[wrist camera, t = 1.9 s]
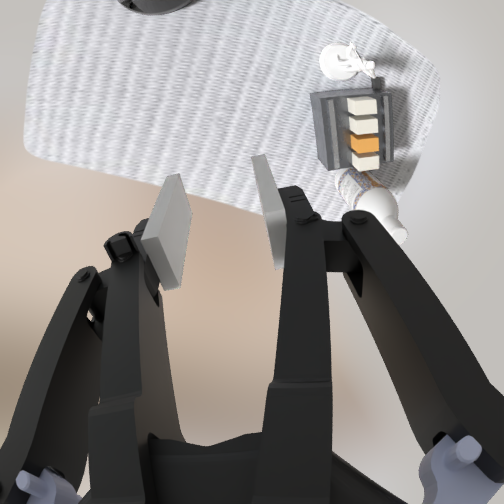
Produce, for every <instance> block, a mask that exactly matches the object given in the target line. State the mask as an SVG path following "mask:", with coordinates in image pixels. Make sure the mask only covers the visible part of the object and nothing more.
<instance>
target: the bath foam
mask: <svg viewBox="0 0 504 504" xmlns="http://www.w3.org/2000/svg"><path fill="white" fill-rule="evenodd" d="M335 187H336V189H337V191H338V192H339V193H340V195H341V196H342V198H343V199H344V200H345V202H346V203H347V205H348V206H349V207H350V209H351V210H365V211H368V212H371V213H372V214H373V215H374V216H375V217H376V218H377V219H378V220H379V222H380V223H381V224H382V225H383V226H384V228H385V229H386V230H387V231H388V232H389V234H390V235H391V236H392V237H393V239H394V240H395V241H396V242H397V244H398V245H400V244H402V243H403V242H405V240H406V239H407V236H408V232H407V230H406V228H405V227H403V225H402V224H401V222H400V221H399V220H398V205H397V202H396V200H395V198H394V196H393V195H392V193H391V192H390V191H389V190H388V189H387V188H386V187H385V186H384V185H383V184H382V183H381V182H380V181H379V180H378V179H377V178H376V177H375V176H374V175H373V174H371V173H370V172H369V171H368V170H366V171H360V172H359V171H358V170H357V169H356V168H355V167H349V168H343V169H339V170H338V172H337V173H336V176H335Z"/></svg>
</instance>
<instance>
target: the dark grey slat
mask: <svg viewBox="0 0 504 504" xmlns="http://www.w3.org/2000/svg"><path fill="white" fill-rule="evenodd" d="M371 81H372V88H374V89H381V81H380V78H379V77H376V78H375V79H374V78H372V77H371Z"/></svg>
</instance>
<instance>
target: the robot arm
mask: <svg viewBox="0 0 504 504" xmlns="http://www.w3.org/2000/svg"><path fill="white" fill-rule="evenodd" d="M192 1H193V0H118V2H119V3H120V4H121V5H123V6H124V7H125V8H127V9H129V10H131V11H133V12H136V13H139V14H143V15H162V14H167V13H171V12H174V11H176V10H178V9H181V8H183V7H184V6H186V5H188V4H189V3H190V2H192ZM251 159H252V164H253V168H254V173H255V178H256V183H257V188H258V193H259V198H260V203H261V207H262V211H263V216H264V220H265V225H266V230H267V234H268V238H269V243H270V248H271V252H272V256H273V262H274V266H275V270H277V269H282V268H284V272H283V283H282V295H281V307H280V318H279V319H280V320H279V329H278V339H277V350H276V359H275V369H274V377H273V381H272V382H271V383H270V384H269V387H268V391H267V397H266V405H265V413H264V421H263V428H262V432H259V433H251V434H244V435H242V436H239V437H236V438H233V439H230V440H227V441H224V442H221V443H218V444H215V445H212V446H200V445H195V444H190V443H186V441H185V439H184V437H183V435H182V433H181V430H180V425H179V420H178V414H177V409H176V403H175V396H174V390H173V384H172V377H171V370H170V363H169V356H168V348H167V340H166V331H165V322H164V313H163V302H162V296H161V294H160V291H159V290H158V287H159V283H161V285H162V287H163V289H164V291H166V290H172V289H178V288H180V287H181V280H182V274H183V267H184V261H185V254H186V248H187V242H188V236H189V230H190V224H191V219H192V211H191V208H190V205H189V202H188V199H187V196H186V193H185V189H184V186H183V183H182V180H181V177H180V174H179V173H178V174H174V175H170V176H167V177H166V180H165V182H164V184H163V186H162V189H161V191H160V194H159V196H158V198H157V200H156V203H155V205H154V208H153V210H152V213H151V215H150V217H149V218H147V219H144V220H141V221H140V223H139V224H138V225H137V226H136V227H135V230H134V233H133V234H132V233H131V232H129V231H124V232H120V233H117V234H115V235H114V236H112V237H110V238H109V239H108V240H107V241H106V242H105V244H104V248H105V250H106V251H107V253H108V255H109V257H110V259H111V261H112V263H111V268H109V269H107V270H104V271H102V272H100V273H98V272H97V270H96V268H95V267H93V266H88V267H85V268H82V269H80V270H79V271H78V272H77V273H76V274H75V275H74V276H73V278H72V279H71V281H70V283H69V285H68V287H67V289H66V291H65V293H64V294H63V297H62V298H61V300H60V302H59V304H58V306H57V309H56V311H55V312H54V315H53V317H52V319H51V321H50V323H49V325H48V327H47V329H46V332H45V334H44V336H43V339H42V341H41V343H40V345H39V347H38V350H37V352H36V355H35V357H34V359H33V362H32V364H31V367H30V370H29V372H28V375H27V377H26V380H25V382H24V385H23V388H22V391H21V394H20V397H19V399H18V402H17V405H16V408H15V412H14V415H13V418H12V421H11V424H10V428H9V431H8V435H7V438H6V440H5V442H4V443H3V445H2V447H1V449H0V504H408V503H406V502H404V501H403V500H401V499H400V498H398V497H396V496H395V495H393V494H392V493H390V492H389V491H387V490H386V489H384V488H383V487H381V486H380V485H378V484H377V483H375V482H374V481H373V480H371V479H370V478H368V477H367V476H365V475H364V474H363V473H361V472H360V471H358V470H357V469H356V468H354V467H353V466H351V465H350V464H349V463H347V462H346V461H345V460H343V459H342V458H341V457H339V456H338V455H337V454H335V453H334V452H333V451H332V417H333V414H332V410H333V406H332V405H333V404H332V401H333V399H332V397H333V396H332V376H331V341H330V319H329V301H328V286H327V273H326V272H343V275H344V278H345V280H346V282H347V284H348V286H349V288H350V290H351V292H352V294H353V296H354V298H355V300H356V302H357V304H358V306H359V308H360V310H361V312H362V315H363V317H364V319H365V321H366V323H367V325H368V327H369V329H370V332H371V334H372V336H373V338H374V340H375V343H376V345H377V347H378V349H379V352H380V354H381V356H382V358H383V361H384V363H385V365H386V367H387V370H388V372H389V375H390V377H391V379H392V382H393V384H394V386H395V389H396V391H397V394H398V396H399V399H400V401H401V404H402V406H403V408H404V411H405V414H406V416H407V419H408V421H409V424H410V427H411V429H412V431H413V433H414V435H415V437H416V440H417V442H418V443H419V445H420V447H421V448H422V450H423V451H424V453H425V456H424V458H423V459H422V461H421V463H420V467H419V478H420V480H421V482H422V485H423V487H424V495H425V496H424V500H423V503H422V504H487V503H488V501H489V500H490V499H491V498H492V497H493V496H494V495H495V493H496V492H497V491H498V490H499V488H500V487H501V486H502V485H503V484H504V396H503V395H502V394H501V393H500V392H499V391H498V390H497V389H496V388H495V387H494V386H493V385H491V383H490V382H489V380H488V379H487V377H486V375H485V373H484V371H483V370H482V368H481V366H480V364H479V363H478V361H477V359H476V357H475V356H474V354H473V352H472V351H471V349H470V347H469V346H468V344H467V342H466V341H465V339H464V337H463V336H462V334H461V333H460V331H459V329H458V328H457V326H456V325H455V323H454V322H453V320H452V319H451V317H450V315H449V314H448V313H447V311H446V310H445V308H444V307H443V305H442V304H441V302H440V301H439V299H438V298H437V296H436V295H435V293H434V292H433V291H432V289H431V288H430V286H429V285H428V284H427V282H426V281H425V279H424V278H423V277H422V275H421V274H420V273H419V271H418V270H417V268H416V267H415V266H414V264H413V263H412V262H411V260H410V259H409V258H408V257H407V255H406V254H405V253H404V251H403V250H402V249H401V248H400V246H399V245H398V244H397V242H396V241H395V240H394V239H393V237H392V236H391V235H390V234H389V232H388V231H387V230H386V229H385V228H384V226H383V225H382V224H381V223H380V222H379V220H378V219H377V218H376V217H375V216H374V215H373V214H372V213H371V212H368V211H365V210H352V211H349V212H347V213H345V214H344V215H343V216H342V222H336V221H326V220H322V219H321V216H320V214H318V213H317V212H314V211H313V209H312V207H311V205H310V203H309V201H308V199H307V197H306V196H305V194H304V192H303V190H302V189H301V188H299V187H298V186H296V185H295V186H290V187H284V188H279V189H277V186H276V183H275V181H274V178H273V175H272V173H271V170H270V167H269V165H268V162H267V159H266V157H265V154H263V155H258V156H252V157H251ZM88 310H89V312H90V313H91V315H92V316H93V318H92V320H91V321H90V320H89V319H88V318H87V313H88ZM99 398H100V403H99V405H98V402H99ZM87 456H88V457H89V475H90V488H91V489H90V490H89V491H88V492H87V494H86V495H85V496H84V497H83V498H82V497H80V496H79V495H77V491H78V489H79V486H80V484H81V481H82V477H83V475H84V471H85V466H86V461H87Z"/></svg>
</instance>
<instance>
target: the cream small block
mask: <svg viewBox="0 0 504 504" xmlns="http://www.w3.org/2000/svg"><path fill="white" fill-rule="evenodd" d="M352 165H353V166H354V167H355V168H356V169H357V170H358V171H359V172H360V171H366V170H373V169H379V155H377V154H376V153H375V152H366V153H359V154H358V153H357V152H352Z"/></svg>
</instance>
